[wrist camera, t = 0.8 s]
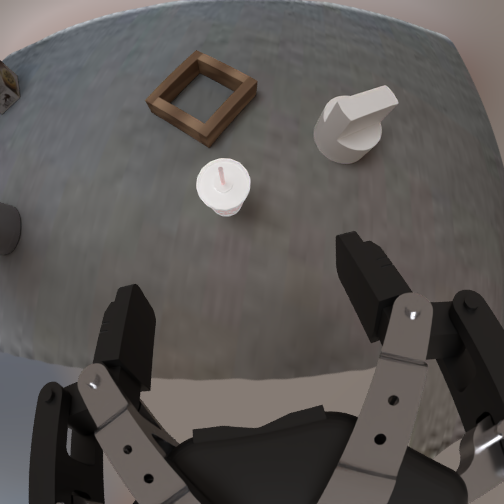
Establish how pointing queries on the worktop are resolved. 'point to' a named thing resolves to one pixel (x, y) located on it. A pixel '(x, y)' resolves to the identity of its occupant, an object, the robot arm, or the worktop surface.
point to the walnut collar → (182, 77)
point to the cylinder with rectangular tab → (353, 124)
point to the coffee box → (8, 88)
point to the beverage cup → (223, 186)
